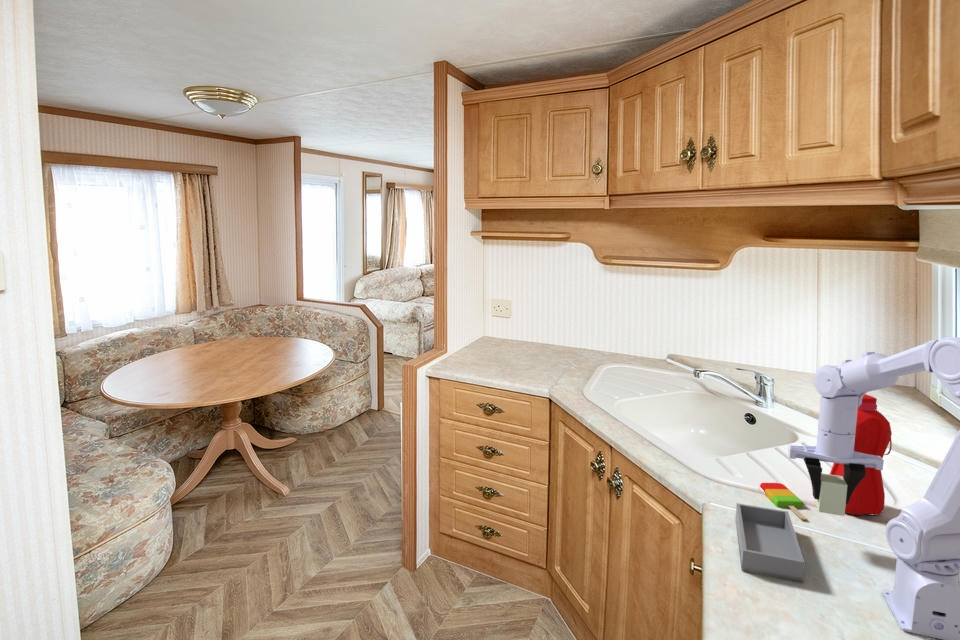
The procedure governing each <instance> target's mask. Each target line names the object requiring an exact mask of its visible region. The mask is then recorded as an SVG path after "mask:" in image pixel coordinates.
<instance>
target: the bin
mask: <svg viewBox="0 0 960 640" xmlns="http://www.w3.org/2000/svg"><path fill="white" fill-rule="evenodd" d="M735 527H736V534H737V535H736V536H737V543H738V550H739V551H738V552H739V560H740V567H741V571H742V572H747V573H750V574H756V575H760V576H764V577H765V576H766V577H771V578H775V579H780V580H784V581H788V582H789V581H790V582H795V583H799V584H804V577H805V576H804V573H805V560H804V556H803V553H802V550H801V547H800V545H799V541H798V538H797V535H796V532H795V528H794V525H793V522H792V519H791V517H790V513H789V511H788V510H787V511H786V510H781V509H780V510H779V509H776V508H775V509H774V508H768V507H762V506H756V505H751V504H750V505H749V504H745V503H736V505H735Z"/></svg>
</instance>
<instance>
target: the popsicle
mask: <svg viewBox="0 0 960 640" xmlns="http://www.w3.org/2000/svg"><path fill="white" fill-rule="evenodd" d="M760 487H761V488H762V489H763V490H764V492H765V495H764V496H765V497H766V498H767V499H768V500H769V501H770V502H771V503H772V504H773V505H774V506H775V507H776V508H782V509H783V508H784V509H785V508H787V509H790V510H791V511H792V512H793V513H794V514H796V516H797V517H798V518H799V519H800V520H803V521H806V520H807V517H806V516H805V515H804V514H803V513H801V512H800V511H799V510H798V509H804V507H805V506H804V505H805V503H804V501H802V500H801V499H800V498H799V497H798V496H797V495H796V494H795V493H794V492H793V491H792V490H791V489H789V488H788V487H787V486H786V485H785V484H783V483H781V482H780V483H779V482H761V483H760V484H759V488H760Z"/></svg>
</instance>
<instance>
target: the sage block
mask: <svg viewBox="0 0 960 640" xmlns="http://www.w3.org/2000/svg"><path fill="white" fill-rule="evenodd" d="M846 495H847V483H846V482H845V480H844V478H843V477H842V476H837V475H830V473H823V472H822V474H821V479H820V496H819V499H814V503H815V506H816V508H817V511H818V512H819V513H825V514H830V515H836V516H837V515H838V516H842V517H845V514H846V513H845V506H846Z"/></svg>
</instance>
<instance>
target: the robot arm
mask: <svg viewBox="0 0 960 640" xmlns="http://www.w3.org/2000/svg"><path fill="white" fill-rule="evenodd" d="M920 372H927V373H933V374H934V375H935V376H936V378H937V379H938V380H939V381H940V382H941V384H942V385H943V386H944V387H945V388H946V389H947V391H948V392H949V393H950V394H951V396H952V397H953V398H954V399H955V400H956V402H957V403H958V404H959V405H960V337H954V336H946V337H943V338H941V339H935V340H934V339H933V340H928V341H927V342H924V343H922V344H920V345H917V346H915V347H912V348H908V349H907V350H903V351H900V352H898V353H896V354H893V355H890V356H887V355H886V354H882V353H879V352H878V353H876V352H875V351H865V352H863V353H861V357H859V358H857V359H853V360H852V359H844V360H842V361H841V363H840V364H839V365H830V364H823V365H821V366H820V367H819V368H818V369H817V370H816V371H815V373H814V379H813V384H814V387H815V389H816V391H817V392H818V395H820V400H819V413H818V423H817V436H816V437H817V438H816V445H792V444H790V445H788V449H787V455H788V458H789V459H793V460H796V459H802V460H803V462H804V463H805V465H806V469H807V472H808V475H809V477H810V478H809V479H810V482H811V490H812V496H813V499H814V500H815V499H819V496H820V479H821V474H822V473H823V468H822V466H821V465H822V463H821V462H824V463H825V462H826V463H832V464H834V463H840V464H844V480H845V482H846V483H847V495H846V504H848V503H849V500H850V497H851V495H852V493H853V491H854V489H855V488H856V486H857V485H858V484H859V482H860V481H861V480H862V479H863V478H864V477H865V475H866V470H865V467H871V468H875V469H876V470H881V471H883V470H884V459H883V458H881V457H880V456H874V455H869V454H864V453H859V452H855V451H854V443H855V432H856V422H857V411H858V407H859V406H860V404H862V398H863V396H864V395H865V394H866V395H867V393H869V392H873V391H877V390H881V389H885V388H886V389H887V388H890V387H892V386H895V384H896V383H897V382H898V380H899V377H901V376H907V375H911V374H916V373H920ZM885 538H886V542H887V543H888V546H889V548H890V549H891V551H892V552H893V555H895V557H896V562H895V563H896V565H895V574H894V581H893V582H894V583H893V589H892V590H893V591H892V590H886V589H883V590H882V595H883V597H884V599H885V600H886V602H887V603H888V604H887V605H888V606H889V607H890V610H891V612H892V614H893V616H894V618H895V619H896V622H897V624H898V625H899V627H900V629H901V630H902V631H904V632H909V633H912V634H917V635H922V636H925V637H926V636H927V637H930V638H935V639H940V640H960V584H959V582H960V581H959V580H960V429H959V430H958V431H957V434H956V436H955V438H954V439H953V441H952V443H951V445H950V447H949V448H948V451H947V452H946V454H945V456H944V458H943V460H941V464H940V465H939V467H938V469H937V471H936V473H935V474H934V477H933V478H932V480H931V482H930V484H929V485H928V488H927V489H926V491H925V493H924V495H923V497H922V498H921V499H919V500H917V501H915V502H913V503H911V504H908V506H907V505H906V506H905V507H904V508H902V510H901V511H900V513H899V514H898V515H897V517H894V518H891V519H890V520H889V521H888V522H887V524H886V526H885Z"/></svg>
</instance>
